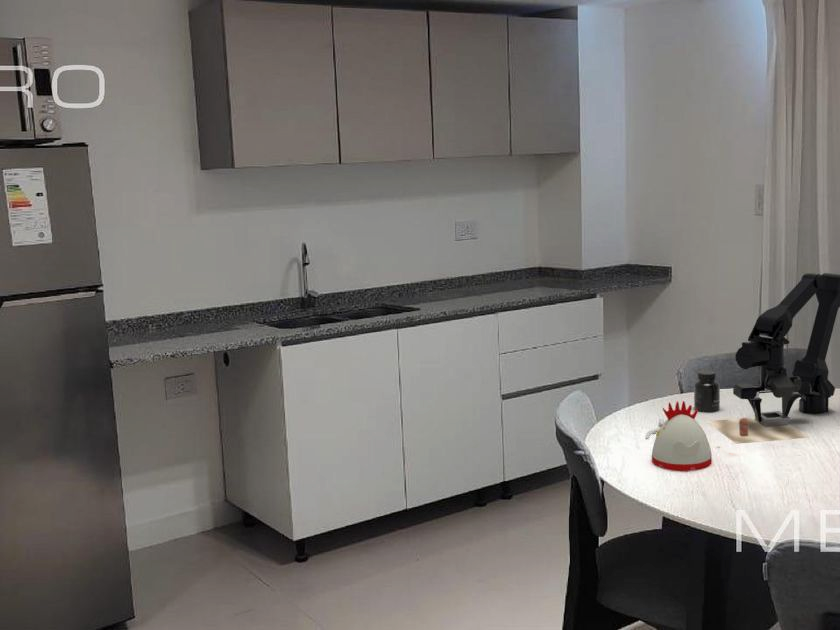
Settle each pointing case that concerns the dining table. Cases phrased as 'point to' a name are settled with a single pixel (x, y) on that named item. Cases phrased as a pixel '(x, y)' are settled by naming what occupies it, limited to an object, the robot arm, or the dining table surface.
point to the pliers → (654, 429)
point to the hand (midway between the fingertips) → (771, 420)
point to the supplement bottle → (707, 392)
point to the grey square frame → (773, 419)
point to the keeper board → (754, 430)
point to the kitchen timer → (681, 442)
